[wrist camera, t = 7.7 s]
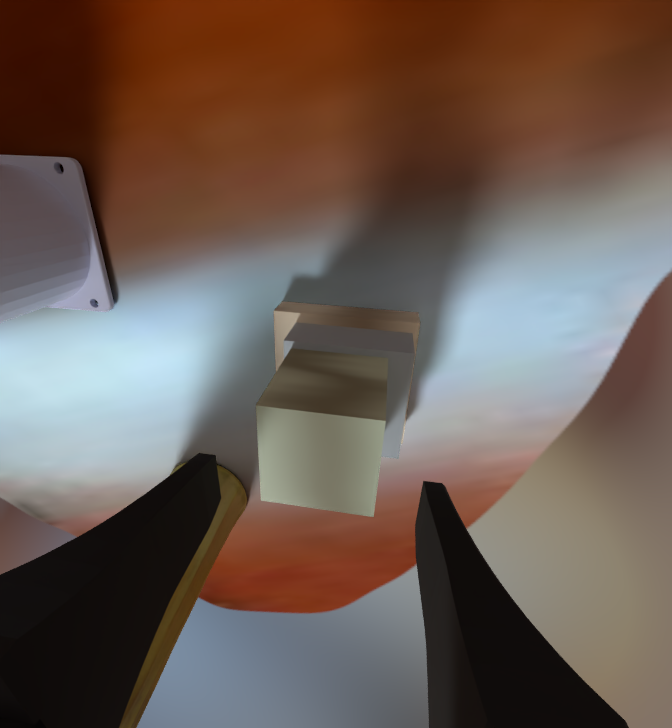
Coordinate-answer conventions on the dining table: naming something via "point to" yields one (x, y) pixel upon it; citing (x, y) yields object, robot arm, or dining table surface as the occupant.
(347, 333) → the tower top
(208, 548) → the vase
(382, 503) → the dining table surface
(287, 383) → the beige matte cube
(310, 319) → the tower base
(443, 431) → the dining table surface
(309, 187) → the dining table surface
